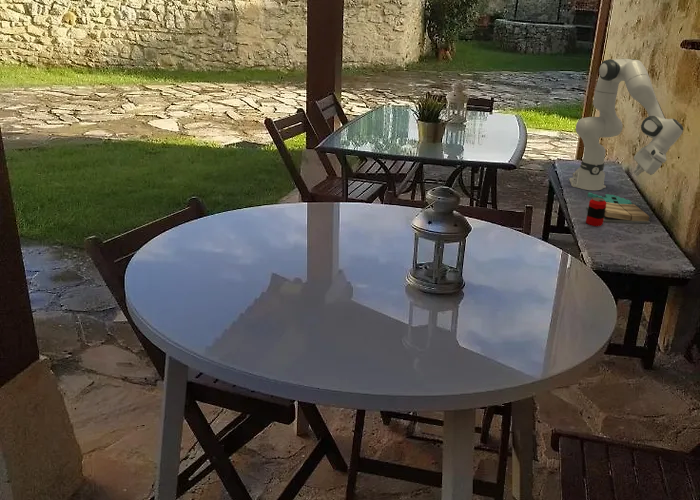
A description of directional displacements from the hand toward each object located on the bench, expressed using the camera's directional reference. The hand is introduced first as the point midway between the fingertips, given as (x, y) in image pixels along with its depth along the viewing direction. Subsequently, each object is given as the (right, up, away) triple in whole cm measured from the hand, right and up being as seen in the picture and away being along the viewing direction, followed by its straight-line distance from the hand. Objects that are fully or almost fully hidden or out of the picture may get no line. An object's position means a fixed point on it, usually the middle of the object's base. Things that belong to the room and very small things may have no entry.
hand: (635, 174), depth 327 cm
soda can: (-23, -24, -7) cm, 34 cm away
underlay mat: (-7, -20, +4) cm, 22 cm away
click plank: (-10, -18, +3) cm, 21 cm away
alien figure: (-3, -13, +24) cm, 27 cm away
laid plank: (0, -20, +4) cm, 21 cm away
